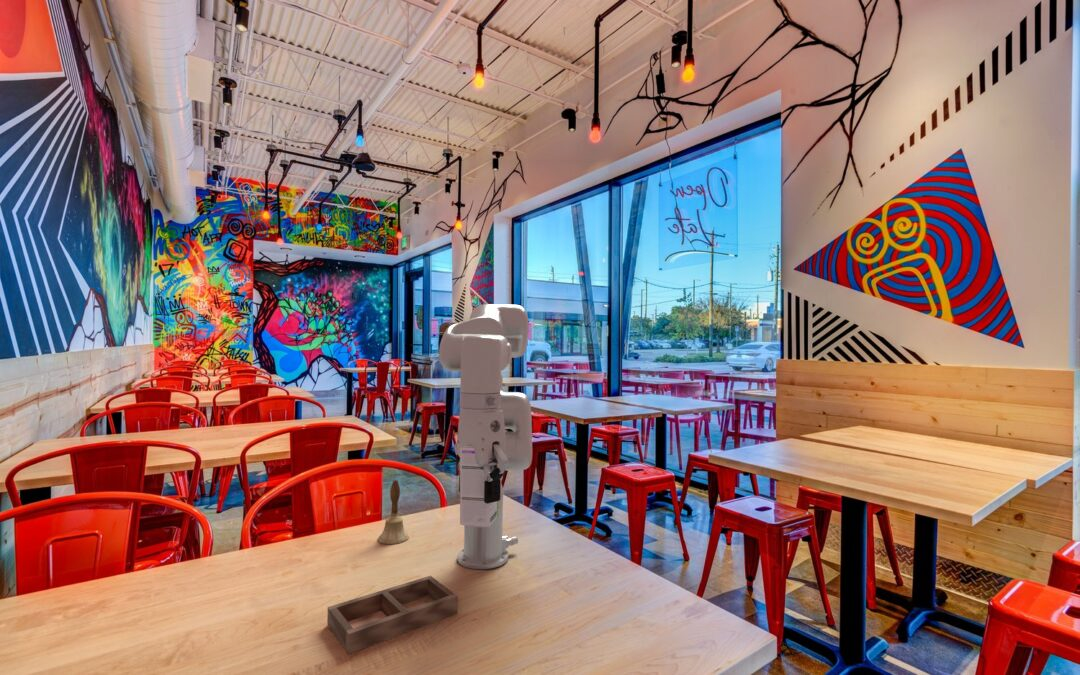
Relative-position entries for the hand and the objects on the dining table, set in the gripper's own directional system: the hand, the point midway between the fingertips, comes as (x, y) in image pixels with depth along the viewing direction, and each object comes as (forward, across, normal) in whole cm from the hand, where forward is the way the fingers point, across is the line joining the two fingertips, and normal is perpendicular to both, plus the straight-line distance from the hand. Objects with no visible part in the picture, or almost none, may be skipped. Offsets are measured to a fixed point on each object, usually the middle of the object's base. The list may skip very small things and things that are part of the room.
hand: (479, 495), depth 96 cm
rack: (+26, +14, +10) cm, 31 cm away
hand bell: (+26, +53, -8) cm, 59 cm away
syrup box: (+5, 0, 0) cm, 5 cm away
